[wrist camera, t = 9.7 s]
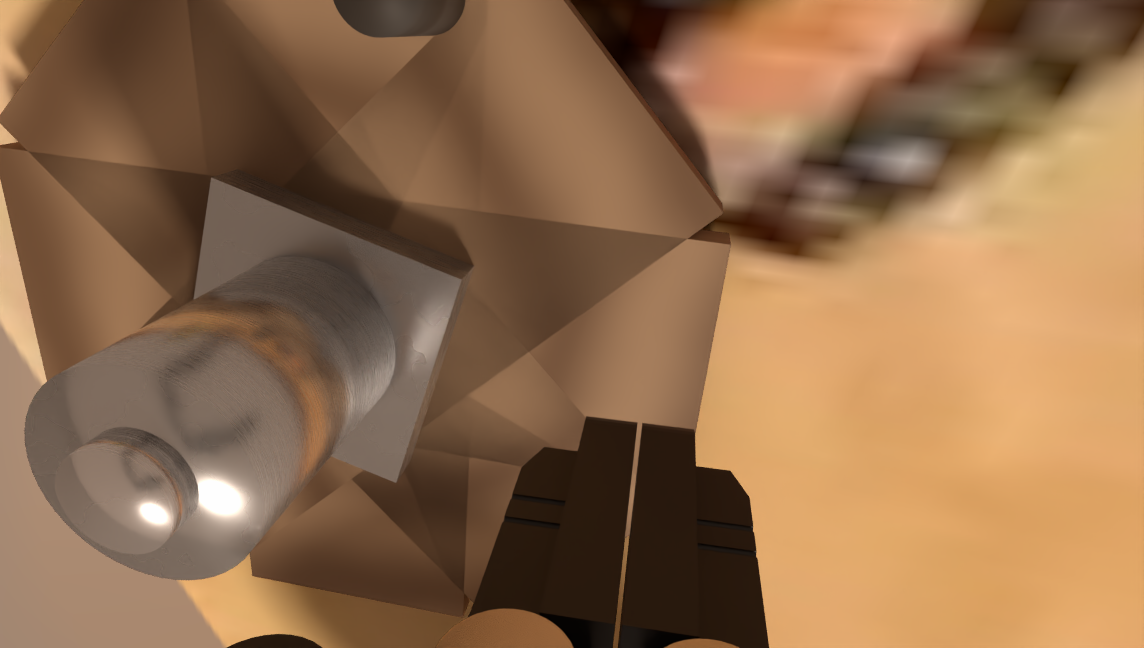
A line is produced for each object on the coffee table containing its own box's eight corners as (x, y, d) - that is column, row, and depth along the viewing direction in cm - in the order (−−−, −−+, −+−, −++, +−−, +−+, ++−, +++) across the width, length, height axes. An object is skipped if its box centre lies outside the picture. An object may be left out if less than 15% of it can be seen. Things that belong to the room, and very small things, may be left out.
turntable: (-69, 245, 30) (-218, 288, 25) (343, -303, 20) (231, -406, 15) (371, 660, 36) (319, 762, 31) (858, 385, 26) (896, 470, 21)
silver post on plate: (204, 376, 29) (-59, 565, 19) (237, 169, 25) (-68, 265, 15) (410, 461, 29) (257, 694, 19) (474, 266, 25) (326, 426, 15)
